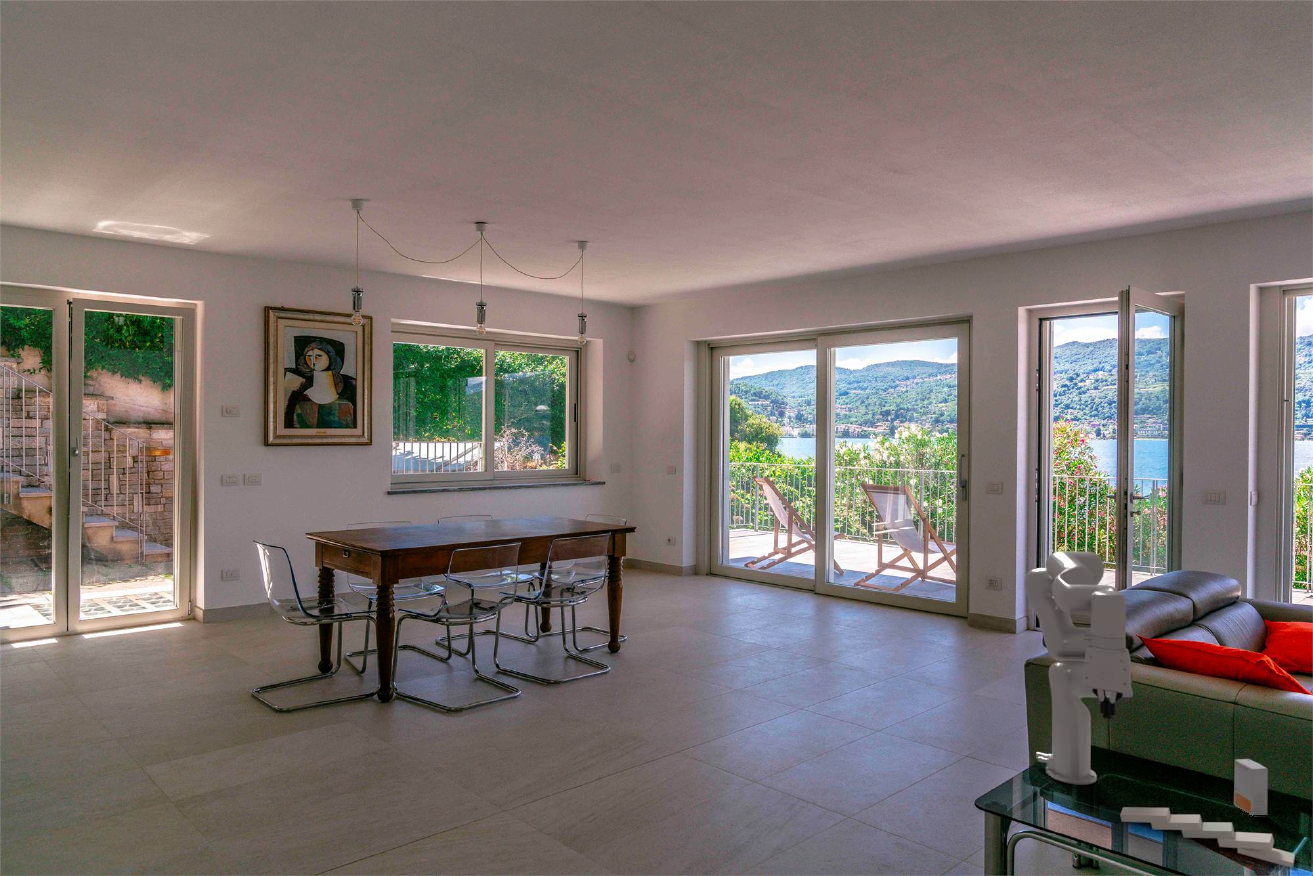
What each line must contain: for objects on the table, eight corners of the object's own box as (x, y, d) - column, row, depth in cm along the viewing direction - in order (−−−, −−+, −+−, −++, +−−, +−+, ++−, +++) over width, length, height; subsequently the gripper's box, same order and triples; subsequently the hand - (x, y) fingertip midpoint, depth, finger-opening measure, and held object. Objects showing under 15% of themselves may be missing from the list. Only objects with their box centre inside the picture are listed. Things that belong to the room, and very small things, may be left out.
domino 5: (1237, 847, 191) (1292, 862, 184) (1240, 839, 194) (1294, 853, 188) (1237, 854, 191) (1292, 870, 184) (1240, 846, 195) (1294, 860, 188)
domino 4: (1217, 839, 193) (1269, 842, 187) (1220, 831, 197) (1272, 833, 191) (1219, 846, 193) (1271, 850, 187) (1222, 838, 197) (1274, 841, 190)
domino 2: (1150, 822, 202) (1198, 822, 196) (1152, 814, 206) (1200, 814, 200) (1152, 829, 202) (1200, 830, 196) (1154, 821, 206) (1201, 821, 200)
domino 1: (1120, 815, 206) (1166, 815, 200) (1123, 807, 210) (1168, 807, 204) (1121, 821, 206) (1168, 822, 200) (1124, 813, 210) (1170, 814, 204)
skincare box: (1233, 805, 214) (1233, 759, 213) (1248, 805, 214) (1249, 758, 214) (1252, 817, 208) (1252, 769, 207) (1268, 816, 208) (1268, 768, 208)
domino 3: (1184, 829, 202) (1233, 829, 196) (1183, 837, 198) (1233, 838, 192) (1182, 822, 202) (1231, 822, 196) (1181, 830, 198) (1231, 831, 192)
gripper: (1071, 640, 207) (1070, 715, 208) (1140, 650, 198) (1140, 728, 198) (1078, 634, 213) (1077, 707, 214) (1145, 644, 204) (1145, 719, 204)
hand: (1107, 717), depth 206 cm, fingers closed
